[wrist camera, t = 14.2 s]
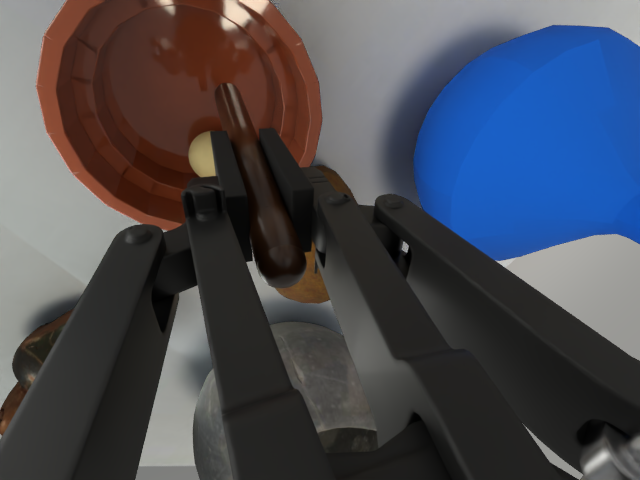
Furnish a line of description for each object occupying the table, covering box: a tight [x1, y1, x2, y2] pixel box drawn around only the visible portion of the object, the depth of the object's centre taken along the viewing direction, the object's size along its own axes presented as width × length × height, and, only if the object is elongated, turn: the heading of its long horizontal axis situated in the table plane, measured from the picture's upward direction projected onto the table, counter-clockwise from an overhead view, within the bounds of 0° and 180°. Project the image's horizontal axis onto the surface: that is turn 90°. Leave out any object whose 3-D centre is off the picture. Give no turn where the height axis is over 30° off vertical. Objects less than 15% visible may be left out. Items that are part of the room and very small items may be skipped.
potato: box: [275, 165, 358, 303], centre depth 30 cm, size 8×12×9 cm
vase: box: [413, 25, 640, 261], centre depth 26 cm, size 18×18×19 cm
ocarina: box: [0, 309, 74, 436], centre depth 30 cm, size 10×15×8 cm, turn 117°
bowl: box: [193, 321, 378, 480], centre depth 38 cm, size 20×20×15 cm
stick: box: [215, 83, 307, 289], centre depth 16 cm, size 2×2×17 cm
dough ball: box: [188, 131, 216, 177], centre depth 25 cm, size 4×4×4 cm
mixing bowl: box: [36, 0, 322, 231], centre depth 22 cm, size 15×15×6 cm
